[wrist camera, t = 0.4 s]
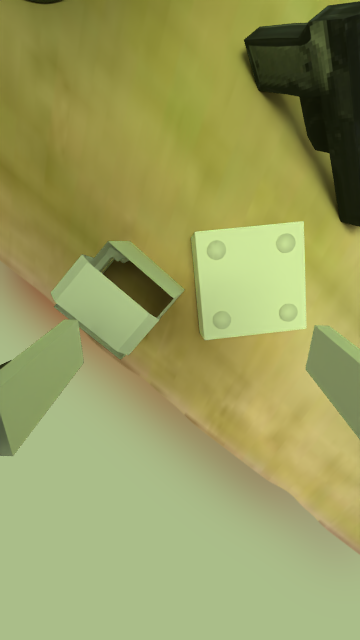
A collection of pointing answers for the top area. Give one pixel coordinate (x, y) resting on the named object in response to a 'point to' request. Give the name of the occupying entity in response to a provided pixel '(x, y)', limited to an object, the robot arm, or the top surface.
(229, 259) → the pedestal
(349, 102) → the handgun
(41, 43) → the top surface
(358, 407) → the robot arm
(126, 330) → the grater
